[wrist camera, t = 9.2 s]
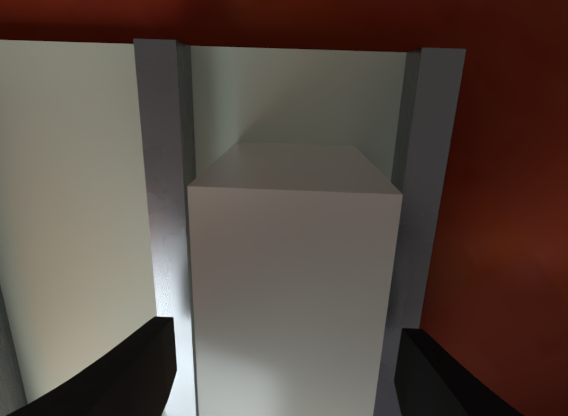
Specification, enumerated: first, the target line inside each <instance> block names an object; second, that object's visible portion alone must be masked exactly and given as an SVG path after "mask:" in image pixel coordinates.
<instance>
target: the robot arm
mask: <svg viewBox="0 0 568 416" xmlns="http://www.w3.org/2000/svg"><path fill="white" fill-rule="evenodd" d="M176 373H177V359H176V345H175V331H174V317H159V316H154V317H153V318H152V319H150V320H149V321H148V322H146V323H145V324H144V325H142V326H141V327H140V328H139V329H137V330H136V331H135V332H133V333H132V334H131V335H130V336H128V337H127V338H126V339H125V340H123V341H122V342H121V343H119V344H118V345H117V346H115V347H114V348H113V349H111V350H110V351H109V352H108V353H106V354H105V355H104V356H102V357H101V358H99V359H98V360H96V361H95V362H94V363H92V364H91V365H89V366H88V367H86V368H85V369H84V370H82V371H81V372H79V373H78V374H76V375H75V376H74V377H72V378H70V379H69V380H67V381H66V382H64V383H63V384H61V385H59V386H58V387H56V388H55V389H53V390H51V391H50V392H48V393H46V394H44V395H43V396H41V397H39V398H38V399H36V400H34V401H32V402H31V403H29V404H27V405H25V406H23V407H21V408H19V409H17V410H16V411H14V412H12V413H10V414H8V415H6V416H162V413H163V411H164V409H165V406H166V404H167V402H168V399H169V396H170V392H171V389H172V386H173V383H174V379H175V376H176ZM394 384H395V389H396V394H397V399H398V403H399V407H400V411H401V415H402V416H524V415H522V414H521V413H519V412H518V411H517V410H515V409H514V408H513V407H511V406H510V405H509V404H507V403H506V402H505V401H504V400H502V399H501V398H500V397H499V396H497V395H496V394H495V393H494V392H492V391H491V390H490V389H489V388H487V387H486V386H485V385H484V384H483V383H481V382H480V381H479V380H478V379H477V378H475V377H474V376H473V375H472V374H471V373H470V372H469V371H467V370H466V369H465V368H464V367H463V366H462V365H461V364H460V363H458V362H457V361H456V360H455V359H454V358H453V357H452V356H451V355H450V354H449V353H448V352H446V351H445V350H444V349H443V348H442V347H441V346H440V345H439V344H438V343H437V342H436V341H435V340H434V339H432V338H431V337H430V336H429V335H428V334H427V333H426V332H425V331H424V330H422V329H415V328H402V330H401V337H400V343H399V350H398V357H397V363H396V370H395V376H394Z"/></svg>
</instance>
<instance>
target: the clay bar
mask: <svg viewBox="0 0 568 416" xmlns="http://www.w3.org/2000/svg"><path fill="white" fill-rule="evenodd" d="M187 191H188V211H189V230H190V250H191V269H192V289H193V309H194V328H195V348H196V367H197V387H198V406H199V416H373V412H374V404H375V397H376V389H377V382H378V375H379V367H380V360H381V353H382V345H383V338H384V330H385V323H386V316H387V308H388V301H389V294H390V286H391V279H392V272H393V264H394V257H395V249H396V242H397V235H398V227H399V220H400V213H401V205H402V198H403V194H402V193H401V192H400V191H399V190H398V189H397V188H396V187H395V186H394V185H393V184H392V183H391V182H390V181H389V180H388V179H387V178H386V177H385V176H384V175H383V174H382V173H381V172H380V171H379V170H378V169H377V168H376V167H375V166H374V165H373V164H372V163H371V162H370V161H369V160H368V159H367V158H366V157H365V156H364V155H363V154H362V153H361V152H360V151H359V150H358V149H357V148H356V147H355V146H341V145H314V144H286V143H258V142H236V143H235V144H234V145H233V146H231V147H230V148H229V149H228V150H227V151H226V152H225V153H224V154H223V155H221V156H220V157H219V158H218V159H217V160H216V161H215V162H214V163H213V164H211V165H210V166H209V167H208V168H207V169H206V170H205V171H204V172H202V173H201V174H200V175H199V176H198V177H197V178H196V179H195V180H194V181H192V182H191V183H190V184H189V185H188V186H187Z"/></svg>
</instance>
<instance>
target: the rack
mask: <svg viewBox="0 0 568 416" xmlns="http://www.w3.org/2000/svg"><path fill="white" fill-rule="evenodd" d="M133 42H134V44H117V43H85V42H53V41H21V40H0V416H6V415H8V414H10V413H12V412H14V411H16V410H17V409H19V408H21V407H23V406H25V405H27V404H29V403H31V402H32V401H34V400H36V399H38V398H39V397H41V396H43V395H44V394H46V393H48V392H50V391H51V390H53V389H55V388H56V387H58V386H59V385H61V384H63V383H64V382H66V381H67V380H69V379H70V378H72V377H74V376H75V375H76V374H78V373H79V372H81V371H82V370H84V369H85V368H86V367H88V366H89V365H91V364H92V363H94V362H95V361H96V360H98V359H99V358H101V357H102V356H104V355H105V354H106V353H108V352H109V351H110V350H111V349H113V348H114V347H115V346H117V345H118V344H119V343H121V342H122V341H123V340H125V339H126V338H127V337H128V336H130V335H131V334H132V333H133V332H135V331H136V330H137V329H139V328H140V327H141V326H142V325H144V324H145V323H146V322H148V321H149V320H150V319H152V318H153V317H154V316H159V317H174V331H175V345H176V359H177V373H176V376H175V379H174V383H173V386H172V389H171V392H170V396H169V399H168V402H167V404H166V406H165V409H164V411H163V413H162V416H199V406H198V387H197V367H196V348H195V328H194V309H193V289H192V269H191V250H190V230H189V211H188V191H187V186H188V185H189V184H190V183H191V182H192V181H194V180H195V179H196V178H197V177H198V176H199V175H200V174H201V173H202V172H204V171H205V170H206V169H207V168H208V167H209V166H210V165H211V164H213V163H214V162H215V161H216V160H217V159H218V158H219V157H220V156H221V155H223V154H224V153H225V152H226V151H227V150H228V149H229V148H230V147H231V146H233V145H234V144H235V143H236V142H258V143H286V144H314V145H341V146H355V147H356V148H357V149H358V150H359V151H360V152H361V153H362V154H363V155H364V156H365V157H366V158H367V159H368V160H369V161H370V162H371V163H372V164H373V165H374V166H375V167H376V168H377V169H378V170H379V171H380V172H381V173H382V174H383V175H384V176H385V177H386V178H387V179H388V180H389V181H390V182H391V183H392V184H393V185H394V186H395V187H396V188H397V189H398V190H399V191H400V192H401V193H402V194H403V198H402V205H401V213H400V220H399V227H398V235H397V242H396V249H395V257H394V264H393V272H392V279H391V286H390V294H389V301H388V308H387V316H386V323H385V330H384V338H383V345H382V353H381V360H380V367H379V375H378V382H377V389H376V397H375V404H374V412H373V416H402V415H401V411H400V407H399V403H398V399H397V394H396V389H395V384H394V376H395V370H396V363H397V357H398V350H399V343H400V337H401V330H402V328H415V329H419V325H420V319H421V313H422V307H423V301H424V295H425V289H426V283H427V278H428V272H429V266H430V260H431V254H432V248H433V242H434V236H435V230H436V225H437V219H438V213H439V207H440V201H441V195H442V189H443V183H444V177H445V172H446V166H447V160H448V154H449V148H450V142H451V136H452V130H453V124H454V119H455V113H456V107H457V101H458V95H459V89H460V83H461V77H462V71H463V66H464V60H465V54H466V49H454V48H419V49H416V50H413V51H410V52H375V51H342V50H310V49H278V48H246V47H214V46H190V45H187V44H185V43H182V42H180V41H177V40H161V39H133Z"/></svg>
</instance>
